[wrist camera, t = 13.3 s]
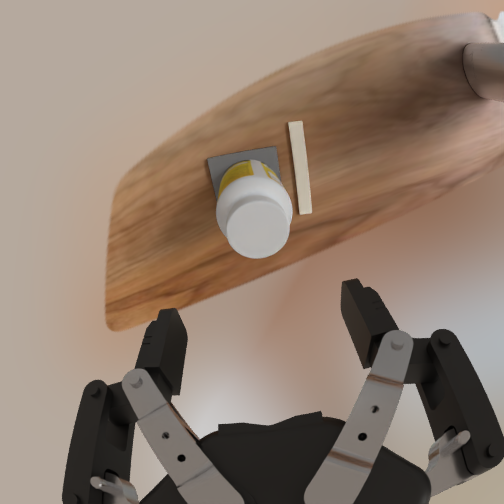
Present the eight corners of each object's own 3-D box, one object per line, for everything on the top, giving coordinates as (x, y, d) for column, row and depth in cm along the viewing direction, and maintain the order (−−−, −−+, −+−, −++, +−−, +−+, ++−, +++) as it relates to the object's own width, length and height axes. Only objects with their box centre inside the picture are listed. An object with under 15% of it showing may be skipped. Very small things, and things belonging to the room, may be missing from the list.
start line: (301, 120, 27) (302, 120, 26) (311, 211, 32) (312, 212, 32) (287, 122, 27) (288, 122, 26) (299, 213, 32) (300, 214, 32)
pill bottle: (210, 197, 30) (197, 246, 20) (238, 147, 28) (240, 171, 17) (259, 222, 32) (270, 281, 22) (289, 176, 29) (318, 216, 19)
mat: (275, 146, 28) (276, 146, 28) (284, 212, 32) (285, 213, 32) (207, 158, 28) (207, 159, 28) (222, 222, 32) (222, 224, 32)
